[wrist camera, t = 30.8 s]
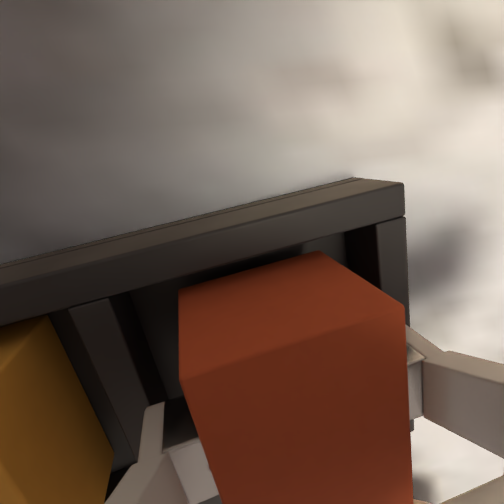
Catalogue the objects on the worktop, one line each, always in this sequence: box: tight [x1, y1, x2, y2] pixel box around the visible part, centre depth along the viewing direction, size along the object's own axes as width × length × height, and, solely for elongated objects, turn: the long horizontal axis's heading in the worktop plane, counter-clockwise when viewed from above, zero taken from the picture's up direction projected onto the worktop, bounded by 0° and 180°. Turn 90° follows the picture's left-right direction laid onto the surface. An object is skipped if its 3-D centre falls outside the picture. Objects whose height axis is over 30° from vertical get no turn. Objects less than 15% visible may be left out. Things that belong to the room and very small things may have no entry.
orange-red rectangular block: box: [178, 250, 413, 504], centre depth 9 cm, size 6×4×4 cm
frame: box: [0, 177, 414, 504], centre depth 10 cm, size 10×18×3 cm, turn 102°
